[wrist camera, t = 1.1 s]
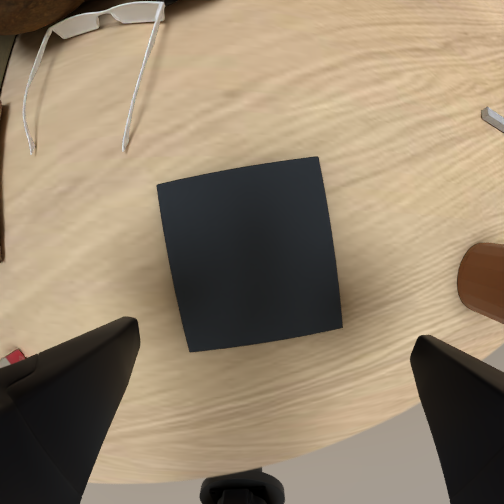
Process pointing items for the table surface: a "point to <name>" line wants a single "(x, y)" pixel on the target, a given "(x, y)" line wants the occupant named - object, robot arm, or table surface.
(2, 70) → the tapered sage bin
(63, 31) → the glasses
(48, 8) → the bowl
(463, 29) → the table surface
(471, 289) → the jar
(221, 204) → the mat
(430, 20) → the table surface
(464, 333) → the table surface
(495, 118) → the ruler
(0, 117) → the horn
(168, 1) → the bomb
